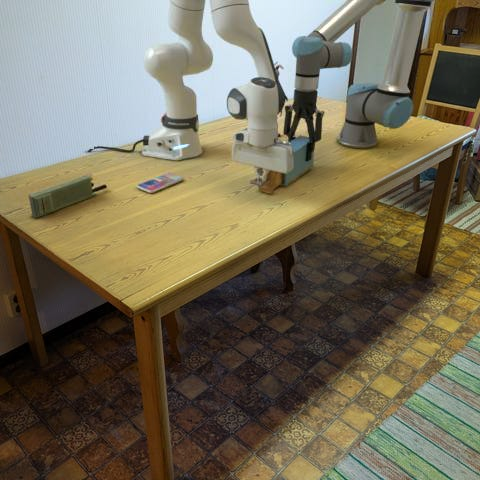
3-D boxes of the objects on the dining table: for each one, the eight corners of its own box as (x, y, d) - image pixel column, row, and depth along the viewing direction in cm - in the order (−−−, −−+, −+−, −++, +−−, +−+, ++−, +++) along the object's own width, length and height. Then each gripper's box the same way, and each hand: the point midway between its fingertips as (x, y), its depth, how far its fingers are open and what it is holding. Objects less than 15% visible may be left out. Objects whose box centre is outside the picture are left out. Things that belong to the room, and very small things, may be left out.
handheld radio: (30, 215, 144) (102, 188, 161) (37, 219, 142) (109, 191, 159) (26, 193, 140) (100, 168, 157) (33, 197, 138) (107, 171, 155)
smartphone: (184, 177, 167) (150, 191, 157) (184, 180, 167) (151, 194, 157) (168, 171, 171) (134, 185, 161) (168, 174, 171) (135, 188, 161)
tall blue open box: (285, 187, 164) (286, 157, 158) (270, 182, 167) (270, 153, 161) (313, 166, 177) (314, 138, 171) (298, 162, 180) (299, 135, 174)
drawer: (261, 200, 154) (262, 175, 150) (249, 196, 157) (249, 171, 152) (298, 173, 170) (299, 149, 166) (286, 170, 172) (287, 146, 168)
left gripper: (299, 139, 145) (296, 184, 151) (240, 128, 155) (240, 171, 162) (287, 145, 140) (285, 191, 147) (228, 133, 151) (229, 176, 157)
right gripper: (338, 91, 160) (329, 161, 171) (286, 83, 169) (282, 149, 180) (327, 95, 154) (319, 167, 166) (274, 86, 164) (270, 155, 175)
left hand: (261, 180), depth 154 cm, fingers closed, pressing on drawer
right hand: (299, 158), depth 173 cm, fingers closed on tall blue open box, 6 cm apart
